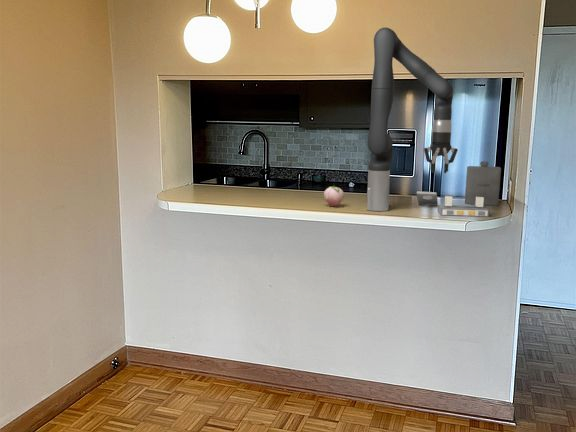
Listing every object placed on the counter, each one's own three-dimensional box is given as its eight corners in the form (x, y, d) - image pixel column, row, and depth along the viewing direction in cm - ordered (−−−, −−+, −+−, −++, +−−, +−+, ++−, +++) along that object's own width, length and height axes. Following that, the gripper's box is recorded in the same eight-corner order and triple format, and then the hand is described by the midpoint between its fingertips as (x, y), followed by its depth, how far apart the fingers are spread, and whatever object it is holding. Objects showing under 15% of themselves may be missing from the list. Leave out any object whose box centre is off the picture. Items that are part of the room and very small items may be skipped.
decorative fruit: (347, 207, 251) (348, 185, 249) (332, 208, 247) (332, 186, 245) (335, 204, 259) (336, 182, 258) (320, 205, 255) (321, 183, 254)
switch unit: (441, 215, 234) (441, 208, 233) (437, 211, 243) (437, 204, 243) (488, 217, 232) (489, 209, 231) (483, 212, 241) (483, 205, 241)
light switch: (437, 201, 260) (436, 190, 247) (436, 214, 258) (435, 202, 245) (419, 200, 263) (416, 189, 249) (417, 212, 261) (415, 201, 248)
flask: (465, 204, 263) (468, 161, 260) (464, 202, 269) (467, 160, 265) (499, 206, 260) (502, 162, 257) (497, 204, 266) (500, 161, 262)
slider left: (445, 206, 236) (446, 196, 235) (444, 204, 240) (445, 194, 239) (452, 206, 236) (452, 196, 235) (450, 205, 239) (451, 195, 239)
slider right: (477, 207, 235) (477, 196, 234) (475, 205, 238) (475, 195, 237) (483, 207, 235) (483, 197, 234) (481, 205, 238) (482, 195, 237)
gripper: (425, 131, 230) (422, 173, 233) (461, 131, 228) (458, 174, 231) (422, 130, 237) (420, 171, 240) (457, 131, 236) (455, 172, 239)
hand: (439, 172), depth 236 cm, fingers open, 4 cm apart
